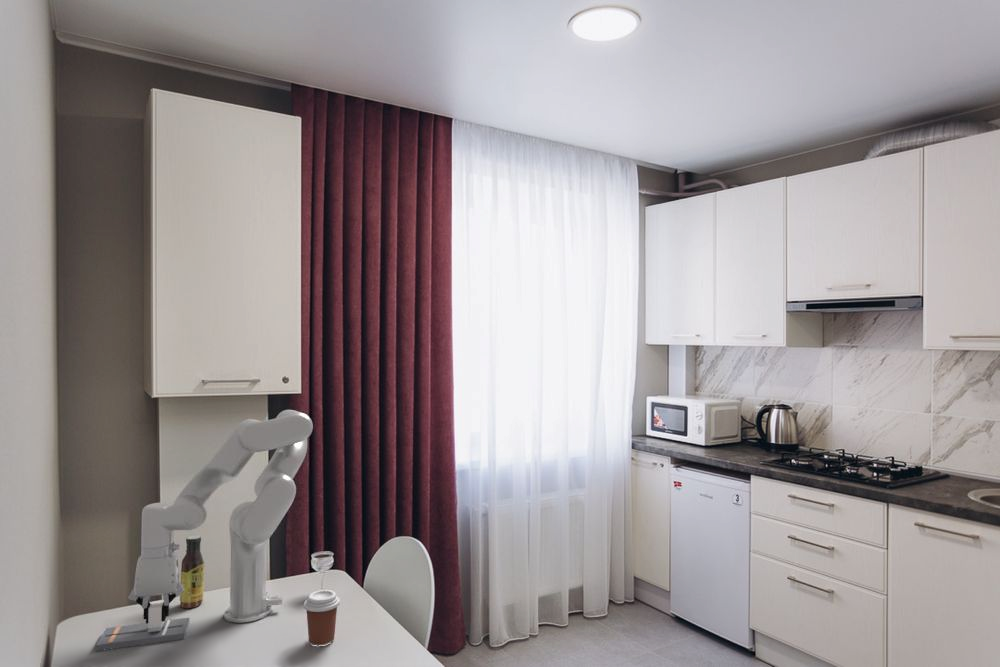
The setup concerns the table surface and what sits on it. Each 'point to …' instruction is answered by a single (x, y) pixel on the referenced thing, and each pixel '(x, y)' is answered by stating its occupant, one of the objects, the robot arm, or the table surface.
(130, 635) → the grey slider base
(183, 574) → the sauce bottle
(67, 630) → the table surface
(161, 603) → the fader
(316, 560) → the wineglass
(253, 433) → the robot arm
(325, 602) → the coffee cup
